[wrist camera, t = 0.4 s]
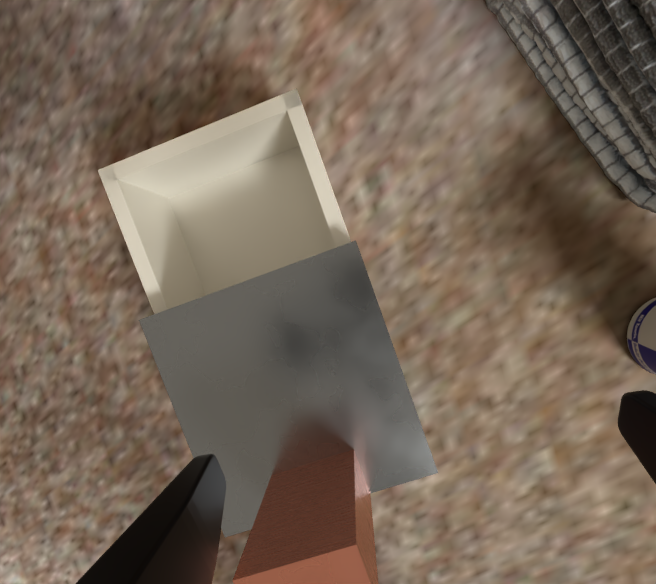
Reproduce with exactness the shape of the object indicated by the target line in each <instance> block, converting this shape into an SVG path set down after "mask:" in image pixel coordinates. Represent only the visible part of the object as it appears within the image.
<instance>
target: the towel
mask: <svg viewBox="0 0 656 584" xmlns="http://www.w3.org/2000/svg"><path fill="white" fill-rule="evenodd" d="M486 3H487V6H488V8H489V9H490V10H491V11H492V12H493V13H494V14H496V15H497V18H498V21H499V23H500V24H501V25H502V27H503V28H505V29H506V30H507V32H508V34H509V37H510V38H511V39H512V41H513V42H514V43H515V44H516V45H517V48H518V50H519V51H520V52H521V54H522V56H523V57H524V58H525V59H526V61H527V63H528V66H530V67H531V69H532V70H533V71H534V72H535V75H536V78H537V79H538V80H539V81H540V82H541V84H542V85H543V86H544V87H545V90H546V92H547V93H548V95H549V96H550V97H551V99H552V100H553V101H554V102H555V103H556V105H557V107H558V108H559V110H560V111H561V113H562V114H563V116H564V117H565V118H566V120H567V121H568V122H569V123H570V126H571V127H572V128H573V129H574V131H575V132H576V134H577V135H578V137H579V139H580V141H581V142H582V143H583V144H584V145H585V146H586V148H587V149H588V150H589V151H590V153H591V154H592V156H593V157H594V158H595V160H596V161H597V162H598V164H599V165H600V167H601V168H602V169H603V171H604V172H605V175H606V176H607V177H608V179H610V180H611V181H612V182H613V183H614V184H615V185H617V186H618V187H619V188H620V190H621V191H622V192H623V193H624V194H625V195H626V197H627V198H628V199H629V200H630V201H632V202H633V203H634V204H635V205H637V206H638V207H641V208H643V209H647V210H650V211H651V212H654V213H656V0H486Z"/></svg>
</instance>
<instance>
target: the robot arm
mask: <svg viewBox="0 0 656 584" xmlns="http://www.w3.org/2000/svg"><path fill="white" fill-rule="evenodd" d="M618 427H619V430H620V432H621V434H622V436H623V437H624V439H625V440H626V442H627V443H628V445H629V446H630V447H631V449H632V450H633V452H634V453H635V455H636V456H637V458H638V459H639V461H640V462H641V463H642V465H643V466H644V468H645V469H646V471H647V472H648V474H649V475H650V477H651V478H652V479H653V481H654V482H655V484H656V394H655V393H653V392H650V391H644V390H642V391H635V392H628V393H625V394H624V395H623V396H622V398H621V404H620V410H619V416H618ZM225 494H226V479H225V476H224V474H223V472H222V469H221V467H220V465H219V462H218V460H217V458H216V456H215V455H213V454H207V455H200V456H197V457H195V458H194V459H193V460H192V461H191V462H190V463H189V464H188V465H187V466H186V467H185V468H184V469H183V470H182V471H181V472H180V473H179V474H178V475H177V477H176V478H175V479H174V480H173V481H172V482H171V483H170V484H169V485H168V486H167V487H166V488H165V489H164V490H163V491H162V492H161V494H160V495H159V496H158V497H157V498H156V499H155V500H154V501H153V502H152V503H151V504H150V505H149V506H148V507H147V508H146V509H145V511H144V512H143V513H142V514H141V515H140V516H139V517H138V518H137V519H136V520H135V521H134V522H133V523H132V524H131V525H130V526H129V527H128V529H127V530H126V531H125V532H124V533H123V534H122V535H121V536H120V537H119V538H118V539H117V540H116V541H115V542H114V543H113V544H112V546H111V547H110V548H109V549H108V550H107V551H106V552H105V553H104V554H103V555H102V556H101V557H100V558H99V559H98V560H97V561H96V563H95V564H94V565H93V566H92V567H91V568H90V569H89V570H88V571H87V572H86V573H85V574H84V575H83V576H82V577H81V578H80V580H79V581H78V582H77V583H76V584H212V580H213V575H214V570H215V565H216V560H217V554H218V547H219V539H220V532H221V524H222V516H223V509H224V501H225Z"/></svg>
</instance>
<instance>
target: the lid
mask: <svg viewBox="0 0 656 584" xmlns="http://www.w3.org/2000/svg"><path fill="white" fill-rule="evenodd" d="M139 321H140V324H141V326H142V329H143V331H144V334H145V336H146V339H147V341H148V344H149V347H150V349H151V352H152V354H153V357H154V359H155V362H156V364H157V367H158V369H159V372H160V374H161V377H162V379H163V382H164V385H165V387H166V390H167V392H168V395H169V397H170V400H171V402H172V405H173V407H174V410H175V412H176V415H177V417H178V420H179V422H180V425H181V428H182V430H183V433H184V435H185V438H186V440H187V443H188V445H189V448H190V450H191V453H192V455H193V458H195V457H197V456H200V455H207V454H213V455H215V456H216V458H217V460H218V462H219V465H220V467H221V469H222V472H223V474H224V476H225V479H226V494H225V501H224V509H223V516H222V524H221V529H222V531H223V534H224V536H225V537H228V536H231V535H234V534H238V533H241V532H244V531H248V530H251V532H250V535H249V538H248V540H247V543H246V546H245V548H244V551H243V554H242V557H241V559H240V562H239V565H238V567H237V570H236V573H235V576H234V578H233V583H234V584H378V575H377V564H376V553H375V542H374V531H373V519H372V508H371V497H370V493H373V492H376V491H380V490H383V489H386V488H390V487H393V486H396V485H399V484H403V483H406V482H409V481H413V480H416V479H419V478H422V477H426V476H429V475H432V474H436V473H438V471H437V468H436V466H435V463H434V460H433V457H432V454H431V451H430V449H429V446H428V443H427V440H426V437H425V435H424V432H423V429H422V426H421V423H420V420H419V418H418V415H417V412H416V409H415V406H414V404H413V401H412V398H411V395H410V392H409V389H408V387H407V384H406V381H405V378H404V375H403V373H402V370H401V367H400V364H399V361H398V358H397V356H396V353H395V350H394V347H393V344H392V341H391V339H390V336H389V333H388V330H387V327H386V325H385V322H384V319H383V316H382V313H381V310H380V308H379V305H378V302H377V299H376V296H375V294H374V291H373V288H372V285H371V282H370V279H369V277H368V274H367V271H366V268H365V265H364V262H363V260H362V257H361V254H360V251H359V248H358V246H357V243H356V241H353V242H350V243H347V244H345V245H342V246H339V247H336V248H334V249H331V250H328V251H326V252H323V253H320V254H317V255H315V256H312V257H309V258H307V259H304V260H301V261H298V262H296V263H293V264H290V265H287V266H285V267H282V268H279V269H277V270H274V271H271V272H268V273H266V274H263V275H260V276H258V277H255V278H252V279H249V280H247V281H244V282H241V283H238V284H236V285H233V286H230V287H228V288H225V289H222V290H219V291H217V292H214V293H211V294H209V295H206V296H203V297H200V298H198V299H195V300H192V301H189V302H187V303H184V304H181V305H179V306H176V307H173V308H170V309H168V310H165V311H162V312H159V313H157V314H154V315H151V316H149V317H146V318H143V319H140V320H139Z"/></svg>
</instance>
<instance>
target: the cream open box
mask: <svg viewBox="0 0 656 584" xmlns="http://www.w3.org/2000/svg"><path fill="white" fill-rule="evenodd" d="M98 172H99V175H100V177H101V180H102V183H103V185H104V188H105V190H106V193H107V195H108V198H109V200H110V203H111V205H112V208H113V211H114V213H115V216H116V218H117V221H118V223H119V226H120V228H121V231H122V234H123V236H124V239H125V241H126V244H127V246H128V249H129V251H130V254H131V256H132V259H133V262H134V264H135V267H136V269H137V272H138V274H139V277H140V279H141V282H142V285H143V287H144V290H145V292H146V295H147V297H148V300H149V302H150V305H151V307H152V310H153V313H154V314H157V313H159V312H162V311H165V310H168V309H170V308H173V307H176V306H179V305H181V304H184V303H187V302H189V301H192V300H195V299H198V298H200V297H203V296H206V295H209V294H211V293H214V292H217V291H219V290H222V289H225V288H228V287H230V286H233V285H236V284H238V283H241V282H244V281H247V280H249V279H252V278H255V277H258V276H260V275H263V274H266V273H268V272H271V271H274V270H277V269H279V268H282V267H285V266H287V265H290V264H293V263H296V262H298V261H301V260H304V259H307V258H309V257H312V256H315V255H317V254H320V253H323V252H326V251H328V250H331V249H334V248H336V247H339V246H342V245H345V244H347V243H350V242H351V240H350V237H349V235H348V232H347V229H346V226H345V223H344V221H343V218H342V215H341V212H340V209H339V207H338V204H337V201H336V198H335V195H334V192H333V190H332V187H331V184H330V181H329V178H328V176H327V173H326V170H325V167H324V164H323V161H322V159H321V156H320V153H319V150H318V147H317V145H316V142H315V139H314V136H313V133H312V131H311V128H310V125H309V122H308V119H307V116H306V114H305V111H304V108H303V105H302V102H301V100H300V97H299V94H298V91H297V88H296V89H294V90H291V91H289V92H287V93H284V94H282V95H279V96H277V97H274V98H272V99H270V100H267V101H265V102H262V103H260V104H257V105H255V106H253V107H250V108H248V109H245V110H243V111H240V112H238V113H236V114H233V115H231V116H228V117H226V118H223V119H221V120H219V121H216V122H214V123H211V124H209V125H206V126H204V127H201V128H199V129H197V130H194V131H192V132H189V133H187V134H184V135H182V136H180V137H177V138H175V139H172V140H170V141H167V142H165V143H163V144H160V145H158V146H155V147H153V148H150V149H148V150H146V151H143V152H141V153H138V154H136V155H133V156H131V157H129V158H126V159H124V160H121V161H119V162H116V163H114V164H111V165H109V166H107V167H104V168H102V169H99V170H98Z"/></svg>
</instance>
